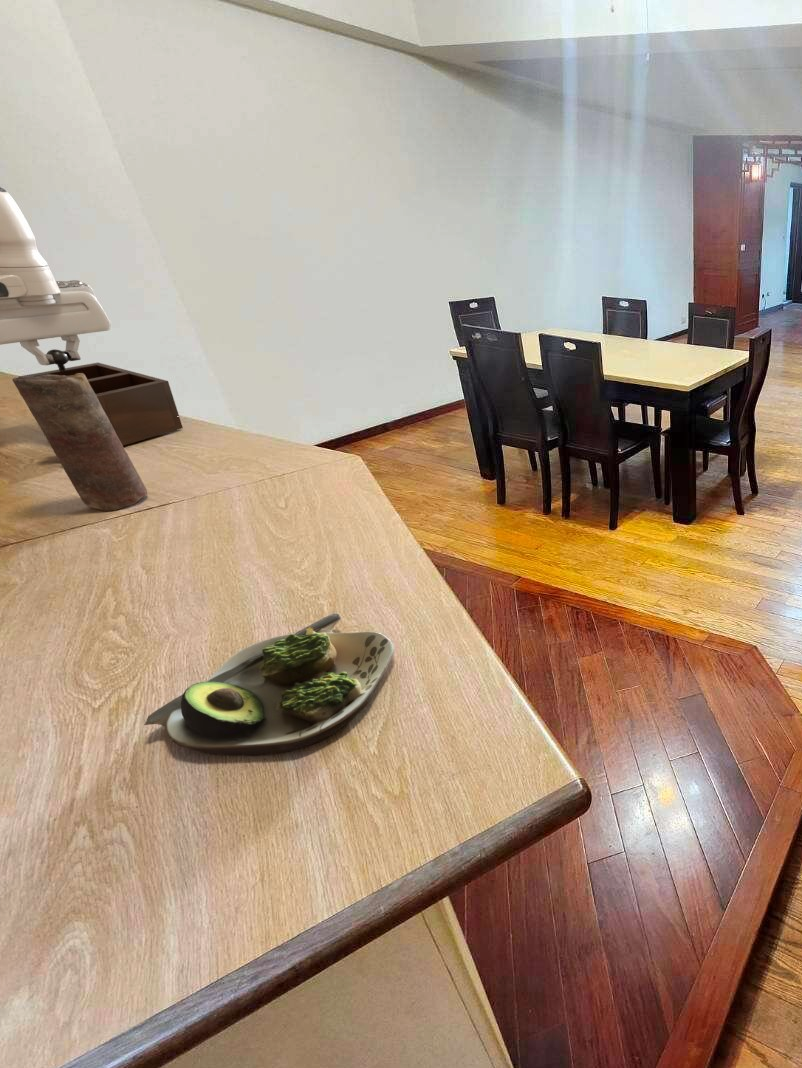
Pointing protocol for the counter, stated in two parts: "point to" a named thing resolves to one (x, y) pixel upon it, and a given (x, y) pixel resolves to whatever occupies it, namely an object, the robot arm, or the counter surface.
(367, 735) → the counter surface
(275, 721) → the salad plate
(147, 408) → the shelf
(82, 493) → the brown textured cylinder
